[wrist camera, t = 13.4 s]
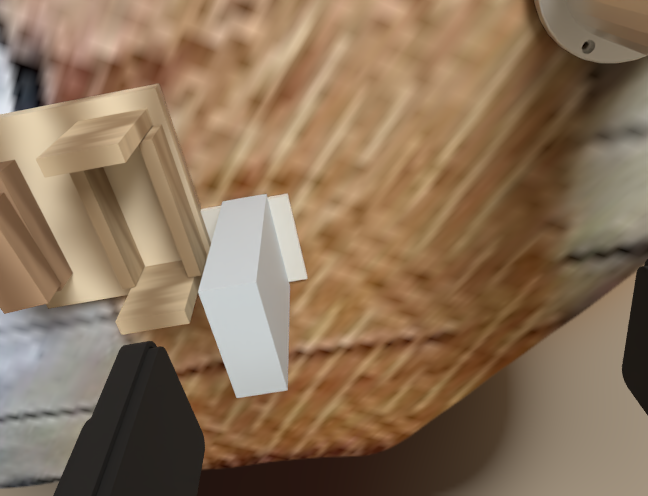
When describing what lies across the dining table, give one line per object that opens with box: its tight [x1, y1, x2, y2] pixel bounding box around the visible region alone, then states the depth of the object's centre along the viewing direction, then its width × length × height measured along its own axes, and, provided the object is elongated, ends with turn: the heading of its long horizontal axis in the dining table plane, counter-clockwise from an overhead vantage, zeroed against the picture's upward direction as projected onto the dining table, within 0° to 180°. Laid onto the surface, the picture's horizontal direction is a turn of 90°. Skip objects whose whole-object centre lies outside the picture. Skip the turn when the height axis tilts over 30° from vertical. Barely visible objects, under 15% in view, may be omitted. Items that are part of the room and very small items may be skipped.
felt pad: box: [201, 194, 307, 282], centre depth 44 cm, size 7×8×1 cm
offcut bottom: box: [0, 160, 73, 292], centre depth 40 cm, size 4×10×2 cm, turn 10°
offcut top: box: [0, 193, 61, 314], centre depth 38 cm, size 4×8×2 cm, turn 14°
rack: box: [0, 84, 211, 335], centre depth 38 cm, size 15×16×8 cm
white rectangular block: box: [198, 194, 290, 398], centre depth 39 cm, size 4×9×12 cm, turn 10°
